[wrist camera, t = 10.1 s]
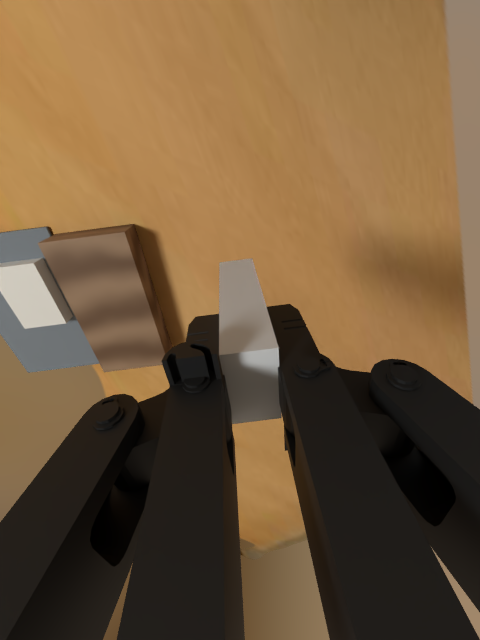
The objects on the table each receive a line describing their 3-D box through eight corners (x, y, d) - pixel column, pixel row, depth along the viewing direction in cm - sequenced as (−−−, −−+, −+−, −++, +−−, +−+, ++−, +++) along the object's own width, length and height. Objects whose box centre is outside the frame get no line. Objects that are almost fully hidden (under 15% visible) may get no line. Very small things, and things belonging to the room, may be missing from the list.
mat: (-64, 240, 33) (-67, 241, 33) (47, 226, 33) (46, 227, 33) (29, 370, 45) (28, 372, 45) (112, 360, 45) (111, 362, 45)
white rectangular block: (33, 263, 33) (42, 257, 35) (-15, 269, 33) (-4, 263, 35) (66, 323, 38) (72, 316, 40) (24, 328, 38) (32, 321, 40)
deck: (55, 234, 34) (37, 243, 31) (133, 224, 34) (124, 232, 31) (112, 355, 45) (104, 372, 41) (172, 347, 45) (168, 364, 41)
